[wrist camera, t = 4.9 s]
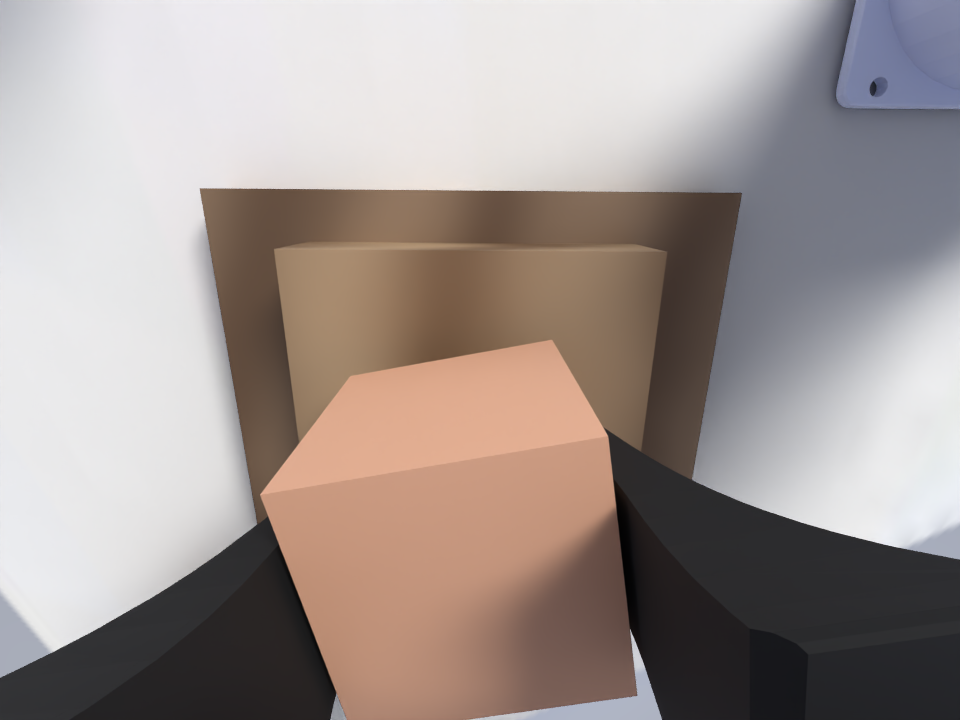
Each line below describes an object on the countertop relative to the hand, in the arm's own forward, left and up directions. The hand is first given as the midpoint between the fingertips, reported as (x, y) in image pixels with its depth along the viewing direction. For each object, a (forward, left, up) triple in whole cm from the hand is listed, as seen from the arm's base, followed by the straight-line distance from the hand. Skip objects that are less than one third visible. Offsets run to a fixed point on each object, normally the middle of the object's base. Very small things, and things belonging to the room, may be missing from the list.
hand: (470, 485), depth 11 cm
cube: (0, 0, -2) cm, 2 cm away
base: (0, 0, -7) cm, 7 cm away
